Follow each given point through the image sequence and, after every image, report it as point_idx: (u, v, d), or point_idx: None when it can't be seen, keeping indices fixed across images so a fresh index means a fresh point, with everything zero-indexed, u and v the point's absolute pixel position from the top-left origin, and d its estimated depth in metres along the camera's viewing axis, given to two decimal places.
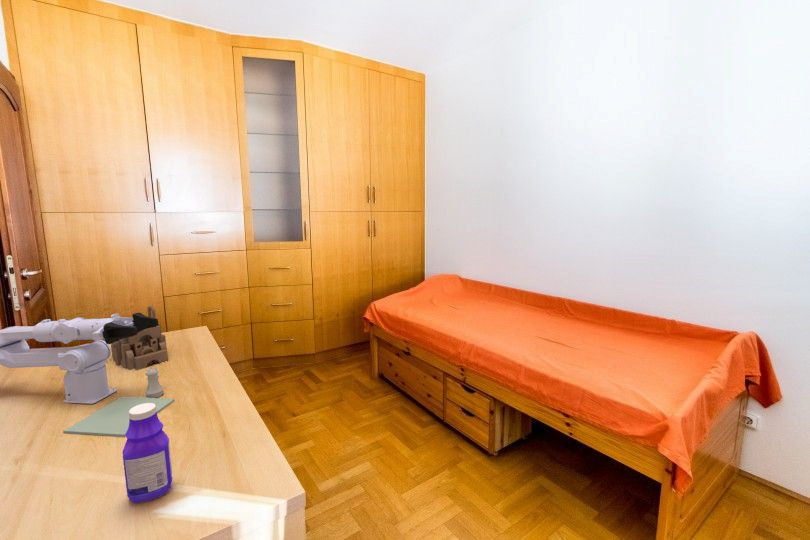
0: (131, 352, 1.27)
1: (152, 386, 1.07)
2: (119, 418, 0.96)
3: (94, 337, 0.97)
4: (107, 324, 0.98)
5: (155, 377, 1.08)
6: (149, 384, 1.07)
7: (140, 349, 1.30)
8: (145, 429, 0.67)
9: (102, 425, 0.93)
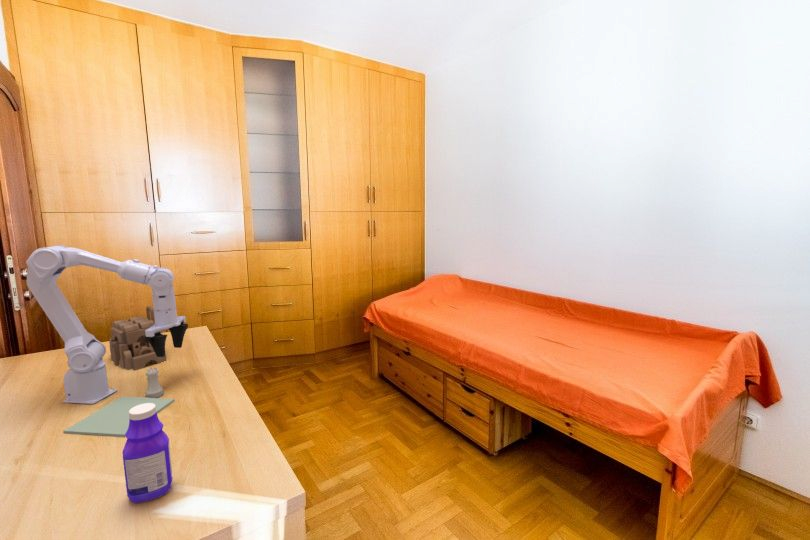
0: (129, 352, 1.27)
1: (152, 386, 1.07)
2: (119, 418, 0.96)
3: (147, 331, 1.06)
4: (163, 337, 1.08)
5: (155, 377, 1.08)
6: (149, 384, 1.07)
7: (138, 349, 1.29)
8: (145, 429, 0.67)
9: (102, 425, 0.93)
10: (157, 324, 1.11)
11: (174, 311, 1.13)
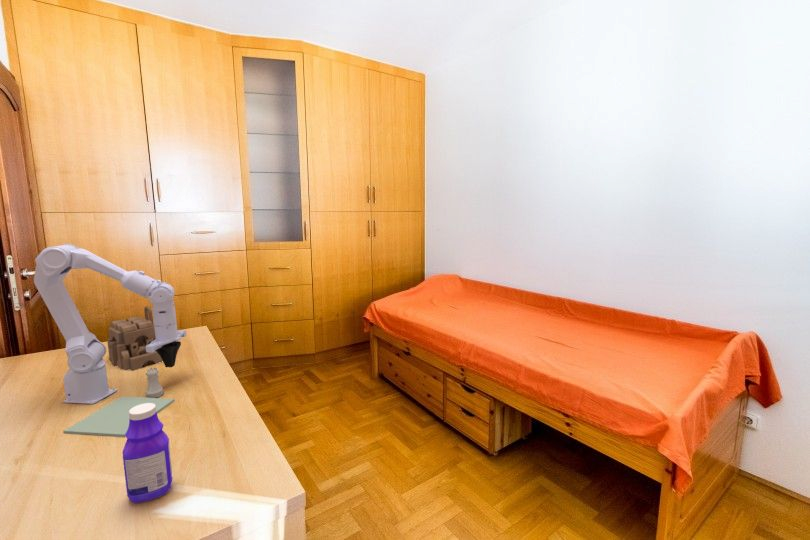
0: (127, 352, 1.27)
1: (152, 386, 1.07)
2: (119, 418, 0.96)
3: (148, 347, 1.06)
4: (171, 349, 1.12)
5: (155, 377, 1.08)
6: (149, 384, 1.07)
7: (136, 349, 1.29)
8: (145, 429, 0.67)
9: (102, 425, 0.93)
10: (157, 339, 1.11)
11: (174, 326, 1.13)
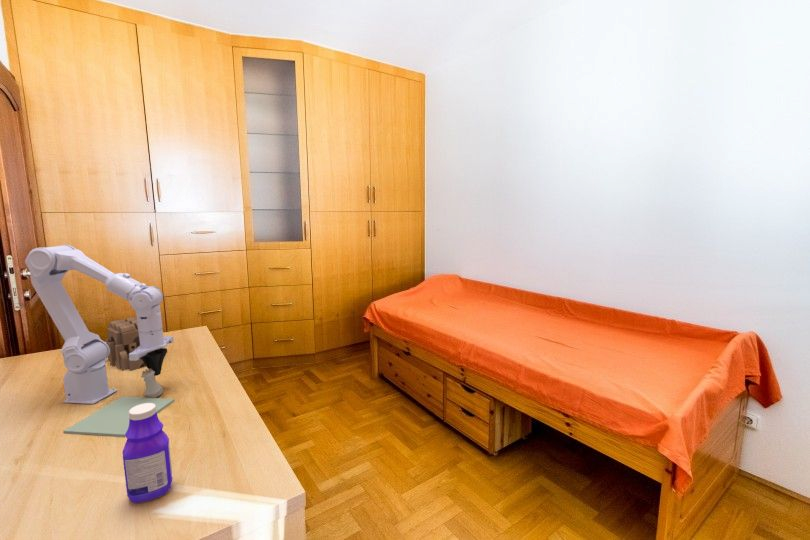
0: (125, 353, 1.27)
1: (150, 386, 1.06)
2: (119, 418, 0.96)
3: (131, 355, 1.01)
4: (157, 356, 1.06)
5: (152, 378, 1.06)
6: (147, 385, 1.06)
7: None
8: (145, 429, 0.67)
9: (102, 425, 0.93)
10: (142, 346, 1.05)
11: (160, 332, 1.07)
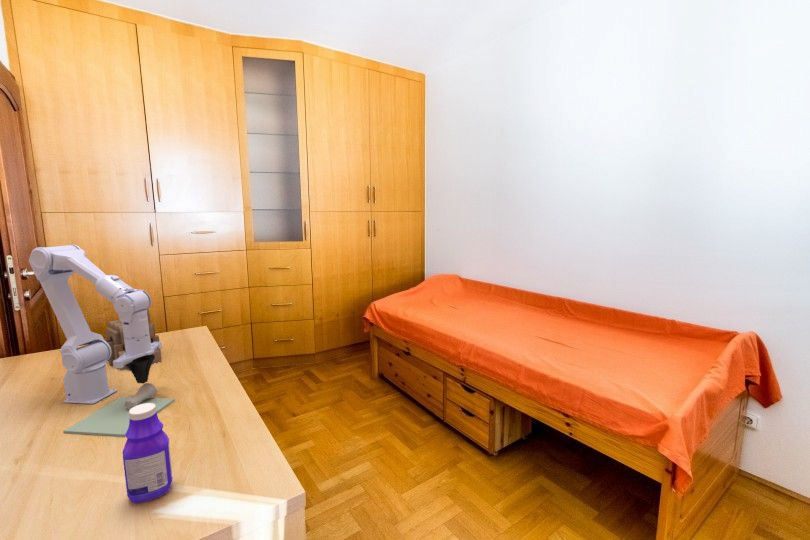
0: None
1: None
2: (119, 418, 0.96)
3: (115, 362, 0.96)
4: (143, 363, 1.01)
5: (139, 402, 1.01)
6: None
7: None
8: (145, 429, 0.67)
9: (102, 425, 0.93)
10: (127, 353, 1.00)
11: (147, 338, 1.02)
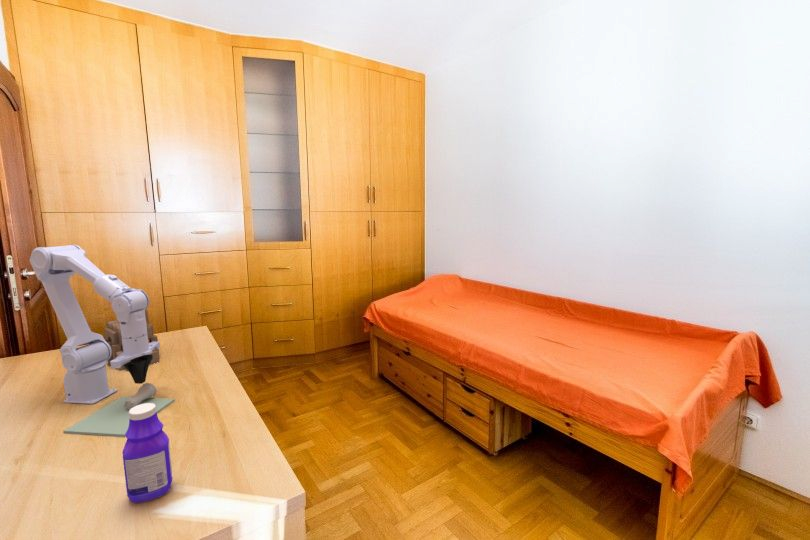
0: None
1: None
2: (119, 418, 0.96)
3: (113, 363, 0.95)
4: (141, 363, 1.01)
5: (138, 402, 1.01)
6: None
7: None
8: (145, 429, 0.67)
9: (102, 425, 0.93)
10: (125, 353, 0.99)
11: (145, 338, 1.01)
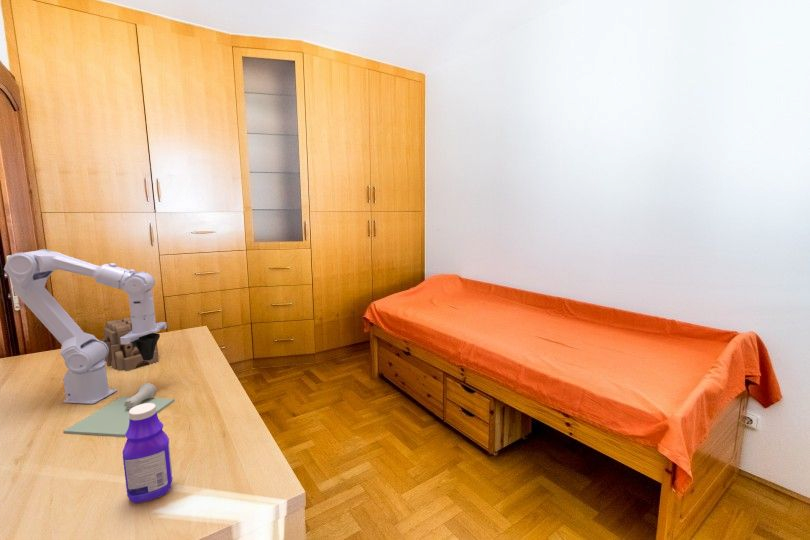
0: (121, 353, 1.26)
1: None
2: (119, 418, 0.96)
3: (122, 339, 1.02)
4: (149, 341, 1.07)
5: (138, 402, 1.01)
6: None
7: (130, 350, 1.29)
8: (145, 429, 0.67)
9: (102, 425, 0.93)
10: (134, 331, 1.06)
11: (152, 317, 1.08)
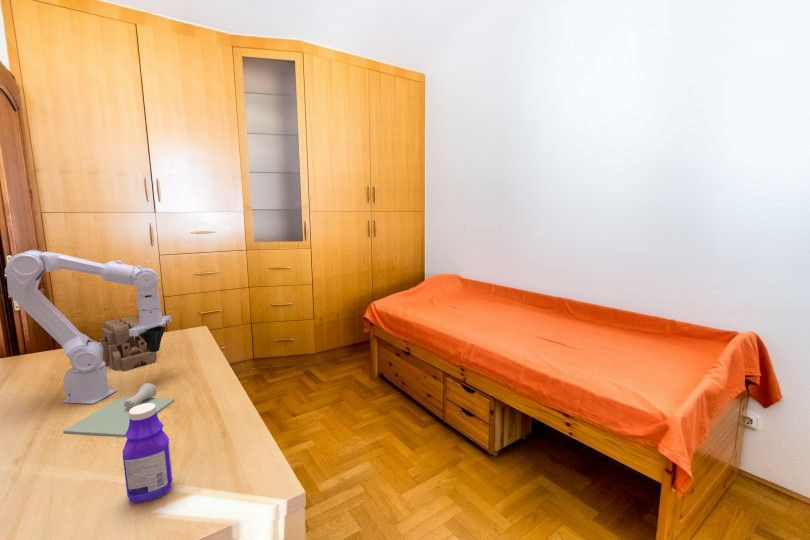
0: (118, 353, 1.26)
1: None
2: (119, 418, 0.96)
3: (131, 331, 1.07)
4: (155, 333, 1.12)
5: (138, 402, 1.01)
6: None
7: (127, 350, 1.29)
8: (145, 429, 0.67)
9: (102, 425, 0.93)
10: (141, 324, 1.11)
11: (159, 311, 1.13)
